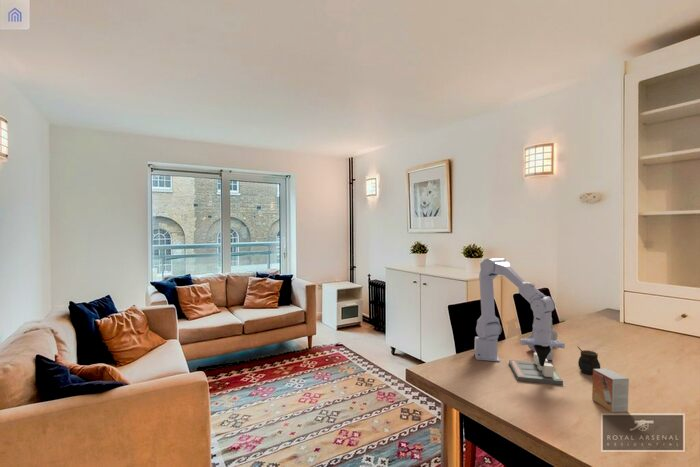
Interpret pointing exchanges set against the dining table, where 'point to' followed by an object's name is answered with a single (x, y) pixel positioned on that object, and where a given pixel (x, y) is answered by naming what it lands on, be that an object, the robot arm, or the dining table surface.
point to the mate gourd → (588, 361)
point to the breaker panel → (532, 373)
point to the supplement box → (550, 351)
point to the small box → (610, 390)
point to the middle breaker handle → (539, 364)
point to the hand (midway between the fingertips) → (541, 365)
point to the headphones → (551, 333)
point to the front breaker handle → (548, 370)
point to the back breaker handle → (535, 358)
